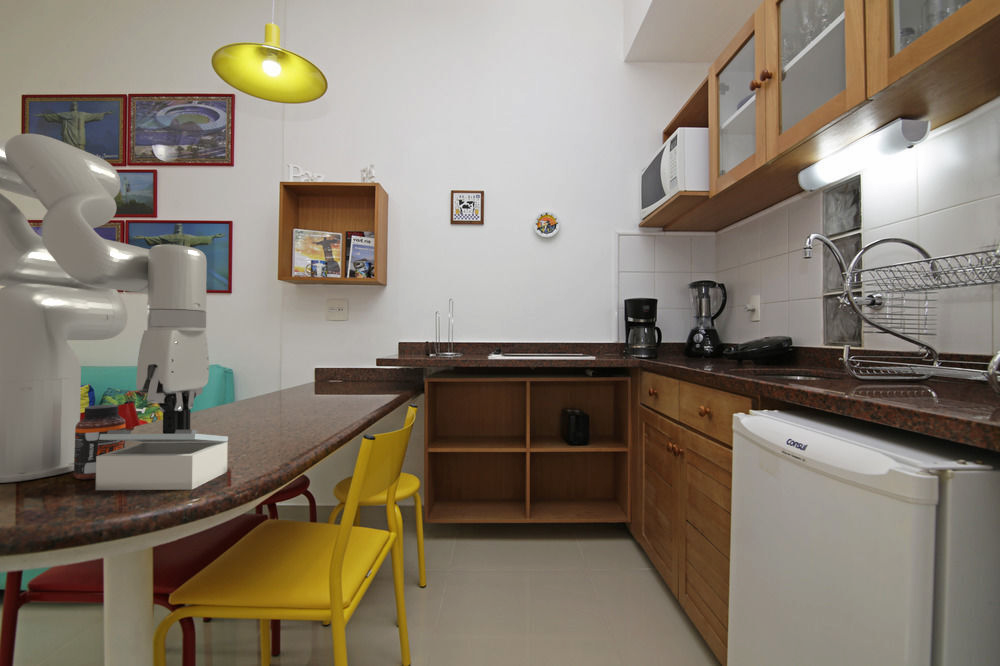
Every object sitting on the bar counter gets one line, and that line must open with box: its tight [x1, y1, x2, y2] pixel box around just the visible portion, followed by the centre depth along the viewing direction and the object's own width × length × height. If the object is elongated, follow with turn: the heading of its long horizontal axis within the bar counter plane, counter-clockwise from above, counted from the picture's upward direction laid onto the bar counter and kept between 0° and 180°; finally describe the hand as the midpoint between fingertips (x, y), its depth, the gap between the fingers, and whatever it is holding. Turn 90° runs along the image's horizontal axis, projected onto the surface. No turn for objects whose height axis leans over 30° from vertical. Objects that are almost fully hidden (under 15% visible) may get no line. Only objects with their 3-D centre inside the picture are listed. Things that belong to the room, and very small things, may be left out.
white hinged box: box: [95, 441, 229, 491], centre depth 64 cm, size 14×8×5 cm, turn 91°
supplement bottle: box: [73, 404, 127, 480], centre depth 66 cm, size 6×6×11 cm
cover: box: [99, 429, 229, 443], centre depth 64 cm, size 14×8×1 cm, turn 91°
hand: (176, 434), depth 65 cm, fingers closed
